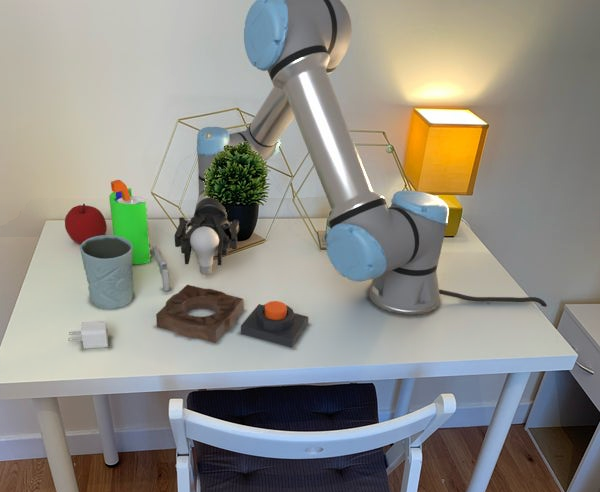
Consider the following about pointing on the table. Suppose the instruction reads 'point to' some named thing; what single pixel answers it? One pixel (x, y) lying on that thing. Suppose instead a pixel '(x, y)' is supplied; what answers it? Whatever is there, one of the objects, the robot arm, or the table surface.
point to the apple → (84, 223)
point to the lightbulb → (204, 247)
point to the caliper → (162, 268)
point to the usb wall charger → (92, 335)
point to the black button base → (275, 327)
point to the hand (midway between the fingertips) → (202, 258)
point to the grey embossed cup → (108, 270)
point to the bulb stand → (195, 326)
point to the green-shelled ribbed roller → (130, 220)
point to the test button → (275, 310)
